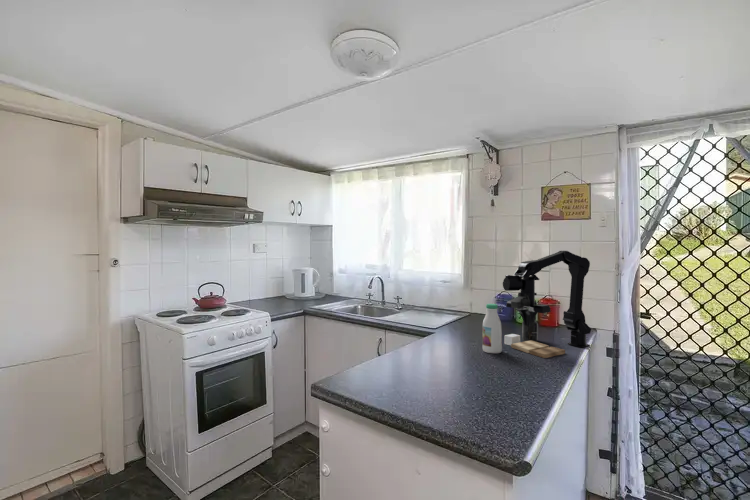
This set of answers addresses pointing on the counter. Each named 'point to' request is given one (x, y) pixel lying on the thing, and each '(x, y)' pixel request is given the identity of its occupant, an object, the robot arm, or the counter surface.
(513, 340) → the block
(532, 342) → the plank
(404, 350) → the counter surface
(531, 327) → the supplement bottle
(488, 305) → the milk bottle
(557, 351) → the floorboard
